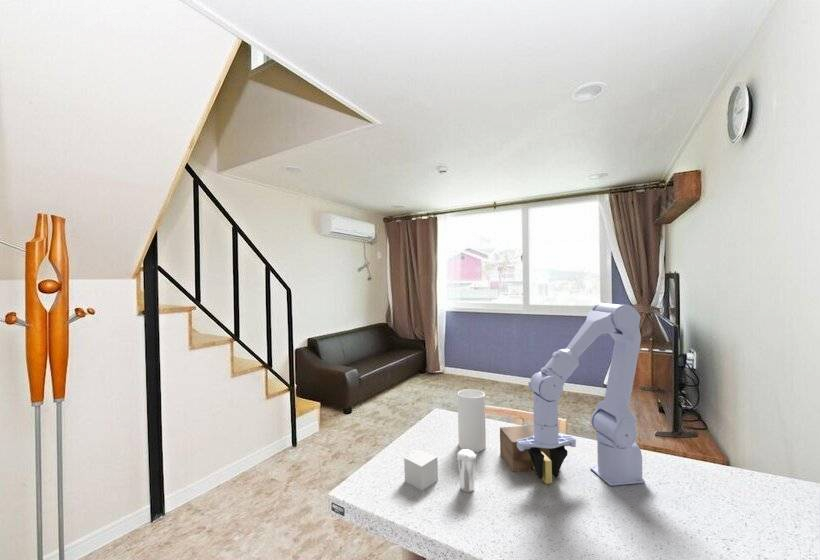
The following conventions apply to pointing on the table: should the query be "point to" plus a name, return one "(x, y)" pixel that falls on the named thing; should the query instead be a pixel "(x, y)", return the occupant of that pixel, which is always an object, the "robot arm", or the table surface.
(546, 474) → the ticket
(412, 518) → the table surface
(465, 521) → the table surface
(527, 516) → the table surface
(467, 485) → the milkshake
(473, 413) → the cup
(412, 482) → the white cube
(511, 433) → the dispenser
